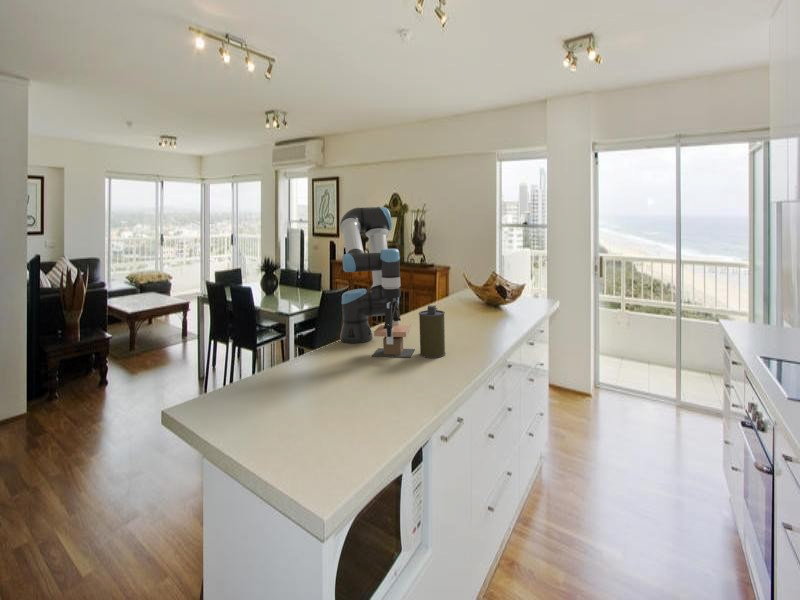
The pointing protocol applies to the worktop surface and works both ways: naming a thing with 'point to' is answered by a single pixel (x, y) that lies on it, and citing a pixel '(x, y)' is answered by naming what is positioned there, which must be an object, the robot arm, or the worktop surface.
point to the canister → (432, 333)
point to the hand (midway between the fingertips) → (393, 340)
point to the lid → (397, 330)
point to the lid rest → (393, 349)
